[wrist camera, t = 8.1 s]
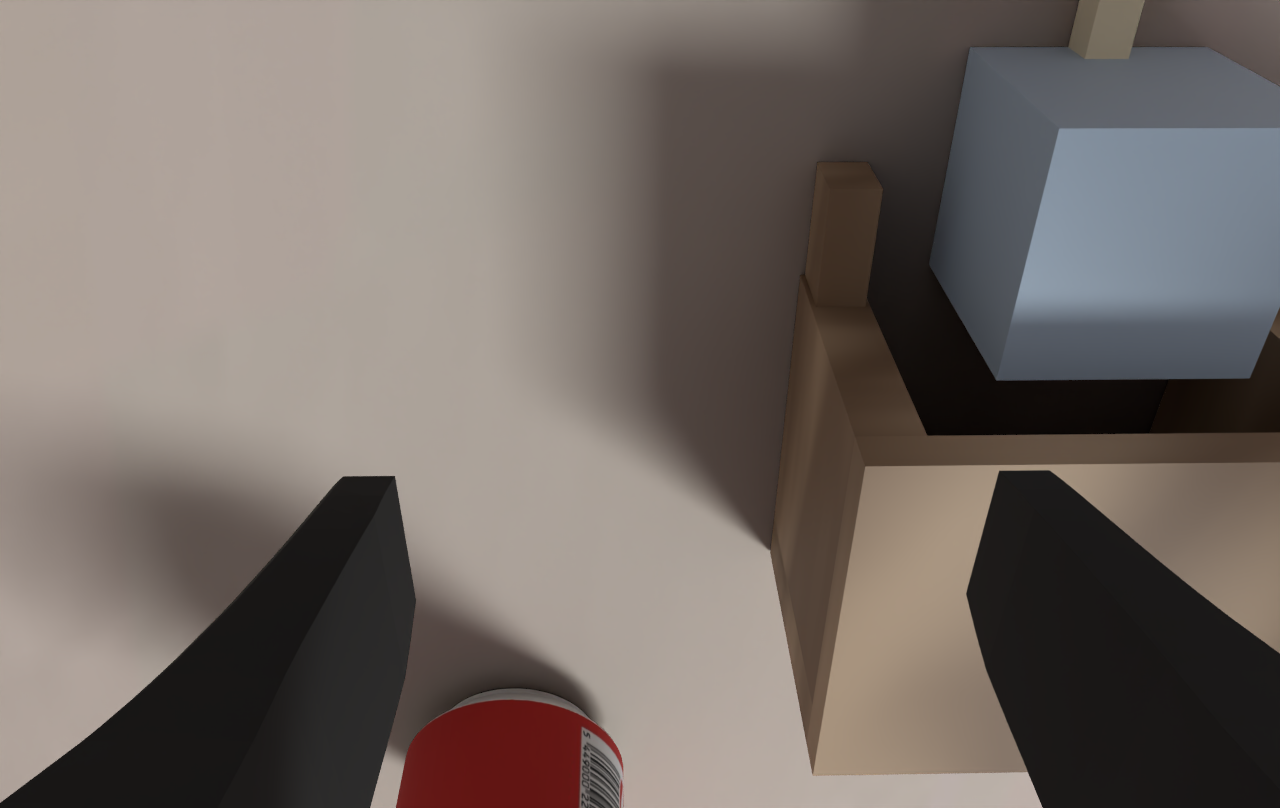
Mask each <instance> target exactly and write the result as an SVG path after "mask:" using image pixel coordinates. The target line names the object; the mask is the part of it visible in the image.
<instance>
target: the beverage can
mask: <svg viewBox="0 0 1280 808" xmlns="http://www.w3.org/2000/svg"><path fill="white" fill-rule="evenodd" d="M396 808H624V799H623V763H622V758H621V755H620V752H619V750H618V748H617V746H616V745H615V743H614V741H613V740H612V739H611V737H610V736H609V735H608V734H607V733H606V732H605V731H604V730H603V729H602V728H601V727H600V726H599V725H598V724H596V723H595V722H594V721H592V720H591V719H589V718H588V717H587V715H586V714H585V713H584V712H583V711H582V710H580V709H579V708H578V707H577V706H575V705H574V704H572V703H571V702H569V701H567V700H565V699H563V698H560V697H558V696H556V695H553V694H549V693H546V692H542V691H537V690H531V689H521V688H509V689H498V690H492V691H487V692H483V693H480V694H477V695H474V696H471V697H469V698H467V699H465V700H463V701H462V702H460V703H458V704H457V705H455V706H454V707H453V708H452V709H451V710H449V711H447V712H445V713H443V714H441V715H439V716H437V717H436V718H435V719H433V720H432V721H430V722H429V723H428V724H427V725H425V726H424V727H423V728H422V729H421V730H420V732H419V733H418V734H417V735H416V736H415V738H414V739H413V741H412V742H411V744H410V746H409V749H408V752H407V755H406V760H405V765H404V770H403V775H402V780H401V785H400V790H399V795H398V800H397V805H396Z"/></svg>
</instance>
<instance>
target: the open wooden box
mask: <svg viewBox="0 0 1280 808" xmlns="http://www.w3.org/2000/svg"><path fill="white" fill-rule="evenodd" d="M882 194H883V188H882V186H881V184H880V183H879V181H878V179H877V178H876V176H875V174H874V172H873V171H872V169H871V167H870V165H869V164H868V162H817V171H816V180H815V189H814V198H813V207H812V216H811V225H810V234H809V243H808V252H807V261H806V270H805V275H800V282H799V292H798V301H797V310H796V319H795V329H794V338H793V347H792V356H791V366H790V375H789V384H788V394H787V403H786V412H785V421H784V431H783V440H782V449H781V459H780V468H779V477H778V486H777V496H776V505H775V514H774V524H773V533H772V542H771V551H770V553H771V559H772V564H773V569H774V574H775V580H776V585H777V590H778V595H779V601H780V606H781V611H782V616H783V622H784V627H785V632H786V637H787V643H788V648H789V653H790V658H791V664H792V669H793V674H794V679H795V685H796V690H797V695H798V700H799V706H800V711H801V716H802V721H803V727H804V732H805V737H806V742H807V748H808V753H809V758H810V764H811V769H812V774H813V776H825V775H884V774H943V773H1002V772H1028V771H1027V769H1026V766H1025V764H1024V761H1023V759H1022V757H1021V754H1020V752H1019V750H1018V747H1017V745H1016V742H1015V740H1014V738H1013V735H1012V733H1011V730H1010V728H1009V726H1008V723H1007V721H1006V718H1005V716H1004V713H1003V711H1002V708H1001V706H1000V703H999V701H998V699H997V696H996V694H995V691H994V689H993V686H992V684H991V681H990V679H989V676H988V674H987V671H986V668H985V664H984V661H983V657H982V654H981V650H980V647H979V643H978V639H977V636H976V632H975V628H974V624H973V620H972V616H971V612H970V608H969V604H968V600H967V596H966V592H967V588H968V584H969V581H970V577H971V573H972V569H973V566H974V562H975V558H976V555H977V551H978V547H979V543H980V540H981V536H982V532H983V529H984V525H985V521H986V517H987V514H988V510H989V506H990V503H991V499H992V495H993V491H994V488H995V484H996V480H997V477H998V473H999V471H1020V470H1050V471H1051V472H1053V473H1054V474H1055V475H1057V476H1058V477H1059V478H1060V479H1062V480H1063V481H1064V482H1065V483H1067V484H1068V485H1069V486H1070V487H1072V488H1073V489H1074V490H1075V491H1077V492H1078V493H1079V494H1080V495H1081V496H1083V497H1084V498H1085V499H1086V500H1087V501H1088V502H1090V503H1091V504H1092V505H1093V506H1094V507H1096V508H1097V509H1098V510H1099V511H1100V512H1102V513H1103V514H1104V515H1105V516H1106V517H1107V518H1109V519H1110V520H1111V521H1112V522H1113V523H1115V524H1116V525H1117V526H1118V527H1119V528H1121V529H1122V530H1123V531H1124V532H1125V533H1126V534H1128V535H1129V536H1130V537H1131V538H1132V539H1134V540H1135V541H1136V542H1137V543H1138V544H1139V545H1141V546H1142V547H1143V548H1144V549H1146V550H1147V551H1148V552H1149V553H1150V554H1152V555H1153V556H1154V557H1155V558H1156V559H1158V560H1159V561H1160V562H1161V563H1162V564H1164V565H1165V566H1166V567H1167V568H1169V569H1170V570H1171V571H1172V572H1173V573H1175V574H1176V575H1177V576H1178V577H1180V578H1181V579H1182V580H1183V581H1185V582H1186V583H1187V584H1188V585H1190V586H1191V587H1192V588H1193V589H1195V590H1196V591H1197V592H1198V593H1200V594H1201V595H1202V596H1204V597H1205V598H1206V599H1207V600H1209V601H1210V602H1211V603H1213V604H1214V605H1215V606H1216V607H1218V608H1219V609H1220V610H1222V611H1223V612H1224V613H1226V614H1227V615H1228V616H1229V617H1231V618H1232V619H1234V620H1235V621H1236V622H1238V623H1239V624H1240V625H1242V626H1243V627H1244V628H1246V629H1247V630H1249V631H1250V632H1251V633H1253V634H1254V635H1255V636H1257V637H1258V638H1259V639H1261V640H1262V641H1264V642H1265V643H1266V644H1268V645H1269V646H1270V647H1272V648H1273V649H1274V650H1276V651H1277V652H1279V653H1280V308H1279V310H1278V312H1277V315H1276V317H1275V320H1274V322H1273V324H1272V327H1271V329H1270V331H1269V334H1268V336H1267V339H1266V341H1265V343H1264V346H1263V348H1262V350H1261V353H1260V355H1259V357H1258V360H1257V362H1256V365H1255V367H1254V369H1253V372H1252V374H1251V376H1250V378H1245V379H1169V380H1168V383H1167V386H1166V388H1165V391H1164V394H1163V397H1162V399H1161V402H1160V405H1159V408H1158V410H1157V413H1156V416H1155V418H1154V421H1153V424H1152V427H1151V429H1150V432H1149V434H1067V435H962V436H927V434H926V432H925V429H924V427H923V425H922V423H921V420H920V418H919V416H918V413H917V411H916V409H915V407H914V404H913V402H912V400H911V398H910V395H909V393H908V391H907V388H906V386H905V384H904V382H903V379H902V377H901V375H900V373H899V370H898V368H897V366H896V364H895V361H894V359H893V357H892V354H891V352H890V350H889V348H888V345H887V343H886V341H885V339H884V336H883V334H882V332H881V330H880V327H879V325H878V323H877V320H876V318H875V316H874V314H873V311H872V309H871V307H870V305H869V302H868V300H867V293H868V286H869V280H870V273H871V267H872V260H873V254H874V247H875V240H876V234H877V227H878V221H879V214H880V208H881V201H882Z"/></svg>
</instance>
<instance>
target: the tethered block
mask: <svg viewBox="0 0 1280 808" xmlns="http://www.w3.org/2000/svg"><path fill="white" fill-rule="evenodd" d="M1144 2H1145V0H1079V4H1078V8H1077V12H1076V17H1075V21H1074V25H1073V29H1072V33H1071V37H1070V41H1069V45H1068V47H970V50H969V55H968V61H967V66H966V71H965V77H964V82H963V87H962V93H961V98H960V103H959V108H958V114H957V119H956V124H955V130H954V135H953V140H952V146H951V151H950V156H949V161H948V167H947V172H946V177H945V183H944V188H943V193H942V198H941V204H940V209H939V214H938V220H937V225H936V230H935V236H934V241H933V246H932V251H931V257H930V262H929V266H930V267H931V269H932V271H933V272H934V274H935V276H936V278H937V279H938V281H939V283H940V284H941V286H942V288H943V290H944V291H945V293H946V295H947V296H948V298H949V300H950V302H951V303H952V305H953V307H954V308H955V310H956V312H957V314H958V315H959V317H960V319H961V320H962V322H963V324H964V326H965V327H966V329H967V331H968V332H969V334H970V336H971V338H972V339H973V341H974V343H975V344H976V346H977V348H978V350H979V351H980V353H981V355H982V356H983V358H984V360H985V362H986V363H987V365H988V367H989V369H990V370H991V372H992V374H993V375H994V377H995V379H996V380H1118V379H1245V378H1250V376H1251V374H1252V372H1253V369H1254V367H1255V365H1256V362H1257V360H1258V357H1259V355H1260V353H1261V350H1262V348H1263V346H1264V343H1265V341H1266V339H1267V336H1268V334H1269V331H1270V329H1271V327H1272V324H1273V322H1274V320H1275V317H1276V315H1277V312H1278V310H1279V308H1280V86H1278V85H1276V84H1274V83H1272V82H1271V81H1269V80H1267V79H1265V78H1263V77H1261V76H1260V75H1258V74H1256V73H1254V72H1252V71H1251V70H1249V69H1247V68H1245V67H1243V66H1241V65H1240V64H1238V63H1236V62H1234V61H1232V60H1230V59H1229V58H1227V57H1225V56H1223V55H1221V54H1219V53H1218V52H1216V51H1214V50H1212V49H1210V48H1209V47H1132V45H1133V41H1134V38H1135V34H1136V31H1137V27H1138V24H1139V20H1140V16H1141V13H1142V9H1143V6H1144Z"/></svg>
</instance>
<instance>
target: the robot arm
mask: <svg viewBox="0 0 1280 808" xmlns="http://www.w3.org/2000/svg"><path fill="white" fill-rule="evenodd" d="M966 596H967V600H968V604H969V608H970V612H971V616H972V620H973V624H974V628H975V632H976V636H977V639H978V643H979V647H980V650H981V654H982V657H983V661H984V664H985V668H986V671H987V674H988V676H989V679H990V681H991V684H992V686H993V689H994V691H995V694H996V696H997V699H998V701H999V703H1000V706H1001V708H1002V711H1003V713H1004V716H1005V718H1006V721H1007V723H1008V726H1009V728H1010V730H1011V733H1012V735H1013V738H1014V740H1015V742H1016V745H1017V747H1018V750H1019V752H1020V754H1021V757H1022V759H1023V761H1024V764H1025V766H1026V769H1027V771H1028V773H1029V776H1030V778H1031V781H1032V783H1033V785H1034V788H1035V790H1036V793H1037V795H1038V797H1039V800H1040V802H1041V805H1042V807H1043V808H1280V653H1279V652H1277V651H1276V650H1274V649H1273V648H1272V647H1270V646H1269V645H1268V644H1266V643H1265V642H1264V641H1262V640H1261V639H1259V638H1258V637H1257V636H1255V635H1254V634H1253V633H1251V632H1250V631H1249V630H1247V629H1246V628H1244V627H1243V626H1242V625H1240V624H1239V623H1238V622H1236V621H1235V620H1234V619H1232V618H1231V617H1229V616H1228V615H1227V614H1226V613H1224V612H1223V611H1222V610H1220V609H1219V608H1218V607H1216V606H1215V605H1214V604H1213V603H1211V602H1210V601H1209V600H1207V599H1206V598H1205V597H1204V596H1202V595H1201V594H1200V593H1198V592H1197V591H1196V590H1195V589H1193V588H1192V587H1191V586H1190V585H1188V584H1187V583H1186V582H1185V581H1183V580H1182V579H1181V578H1180V577H1178V576H1177V575H1176V574H1175V573H1173V572H1172V571H1171V570H1170V569H1169V568H1167V567H1166V566H1165V565H1164V564H1162V563H1161V562H1160V561H1159V560H1158V559H1156V558H1155V557H1154V556H1153V555H1152V554H1150V553H1149V552H1148V551H1147V550H1146V549H1144V548H1143V547H1142V546H1141V545H1139V544H1138V543H1137V542H1136V541H1135V540H1134V539H1132V538H1131V537H1130V536H1129V535H1128V534H1126V533H1125V532H1124V531H1123V530H1122V529H1121V528H1119V527H1118V526H1117V525H1116V524H1115V523H1113V522H1112V521H1111V520H1110V519H1109V518H1107V517H1106V516H1105V515H1104V514H1103V513H1102V512H1100V511H1099V510H1098V509H1097V508H1096V507H1094V506H1093V505H1092V504H1091V503H1090V502H1088V501H1087V500H1086V499H1085V498H1084V497H1083V496H1081V495H1080V494H1079V493H1078V492H1077V491H1075V490H1074V489H1073V488H1072V487H1070V486H1069V485H1068V484H1067V483H1065V482H1064V481H1063V480H1062V479H1060V478H1059V477H1058V476H1057V475H1055V474H1054V473H1053V472H1051V471H1050V470H1020V471H999V473H998V477H997V480H996V484H995V488H994V491H993V495H992V499H991V503H990V506H989V510H988V514H987V517H986V521H985V525H984V529H983V532H982V536H981V540H980V543H979V547H978V551H977V555H976V558H975V562H974V566H973V569H972V573H971V577H970V581H969V584H968V588H967V592H966ZM415 603H416V598H415V592H414V586H413V580H412V574H411V569H410V563H409V557H408V551H407V545H406V539H405V533H404V527H403V521H402V516H401V510H400V504H399V498H398V492H397V486H396V480H395V476H352V477H342V478H341V479H340V480H339V481H338V482H337V483H336V484H335V485H334V486H333V487H332V489H331V490H330V491H329V492H328V493H327V494H326V496H325V497H324V498H323V499H322V500H321V502H320V503H319V504H318V505H317V506H316V508H315V509H314V510H313V511H312V512H311V514H310V515H309V516H308V517H307V518H306V519H305V521H304V522H303V523H302V524H301V525H300V527H299V528H298V529H297V530H296V531H295V533H294V534H293V535H292V536H291V537H290V538H289V539H288V541H287V542H286V543H285V544H284V545H283V546H282V548H281V549H280V550H279V551H278V552H277V553H276V555H275V556H274V557H273V558H272V559H271V560H270V561H269V562H268V564H267V565H266V566H265V567H264V568H263V569H262V570H261V571H260V572H259V573H258V575H257V576H256V577H255V578H254V579H253V580H252V581H251V582H250V583H249V584H248V586H247V587H246V588H245V589H244V590H243V591H242V592H241V593H240V594H239V595H238V597H237V598H236V599H235V600H234V601H233V602H232V603H231V604H230V605H229V606H228V607H227V608H226V609H225V610H224V612H223V613H222V614H221V615H220V616H219V617H218V618H217V619H216V620H215V621H214V622H213V623H212V624H211V625H210V626H209V627H208V628H207V629H206V630H205V631H204V632H203V633H202V634H201V635H200V636H199V637H198V638H197V639H196V640H195V641H194V642H193V643H192V644H191V645H190V646H189V647H188V648H187V649H186V650H185V651H184V652H183V653H182V654H181V655H180V656H179V657H178V658H177V659H176V660H175V661H173V662H172V663H171V664H170V665H169V666H168V667H167V668H166V669H165V670H164V671H163V672H162V673H161V674H160V675H158V676H157V677H156V678H155V679H154V680H153V681H152V682H151V683H150V684H149V685H148V686H147V687H145V688H144V689H143V690H142V691H141V692H140V693H139V694H138V695H136V696H135V697H134V698H133V699H132V700H131V701H130V702H129V703H127V704H126V705H125V706H124V707H123V708H122V709H120V710H119V711H118V712H117V713H116V714H114V715H113V716H112V717H111V718H110V719H109V720H107V721H106V722H105V723H104V724H103V725H102V726H100V727H99V728H98V729H97V730H96V731H94V732H93V733H92V734H91V735H90V736H88V737H87V738H86V739H84V740H83V741H82V742H81V743H79V744H78V745H77V746H75V747H74V748H73V749H71V750H70V751H69V752H67V753H66V754H65V755H63V756H62V757H61V758H59V759H58V760H57V761H55V762H54V763H53V764H51V765H50V766H49V767H47V768H46V769H45V770H43V771H42V772H41V773H40V774H38V775H37V776H36V777H34V778H33V779H32V780H30V781H29V782H28V783H26V784H25V785H24V786H22V787H21V788H20V789H18V790H17V791H16V792H14V793H13V794H12V795H10V796H9V797H8V798H6V799H5V800H4V801H2V802H1V803H0V808H370V806H371V802H372V798H373V795H374V791H375V787H376V784H377V780H378V776H379V773H380V769H381V765H382V762H383V758H384V754H385V751H386V747H387V743H388V740H389V736H390V732H391V729H392V725H393V721H394V717H395V714H396V710H397V706H398V702H399V699H400V695H401V691H402V687H403V683H404V679H405V674H406V667H407V661H408V654H409V647H410V641H411V633H412V625H413V618H414V610H415Z"/></svg>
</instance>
